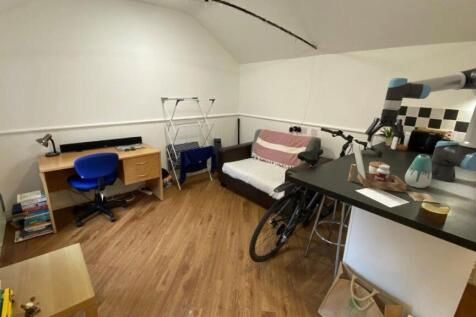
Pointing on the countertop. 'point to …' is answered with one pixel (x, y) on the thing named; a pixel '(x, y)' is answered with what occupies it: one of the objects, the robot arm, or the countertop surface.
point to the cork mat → (419, 196)
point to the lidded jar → (375, 166)
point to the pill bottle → (382, 173)
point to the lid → (359, 159)
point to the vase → (419, 172)
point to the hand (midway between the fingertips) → (380, 148)
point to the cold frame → (369, 183)
